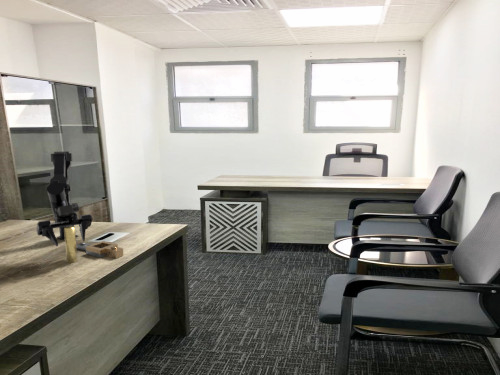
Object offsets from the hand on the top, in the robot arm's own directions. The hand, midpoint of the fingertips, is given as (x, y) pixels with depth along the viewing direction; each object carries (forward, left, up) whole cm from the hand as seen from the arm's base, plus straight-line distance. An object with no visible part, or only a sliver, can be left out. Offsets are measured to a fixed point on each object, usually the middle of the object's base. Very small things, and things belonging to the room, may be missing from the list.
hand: (71, 243), depth 137 cm
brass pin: (-1, 0, -7) cm, 7 cm away
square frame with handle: (-1, +12, -7) cm, 14 cm away
